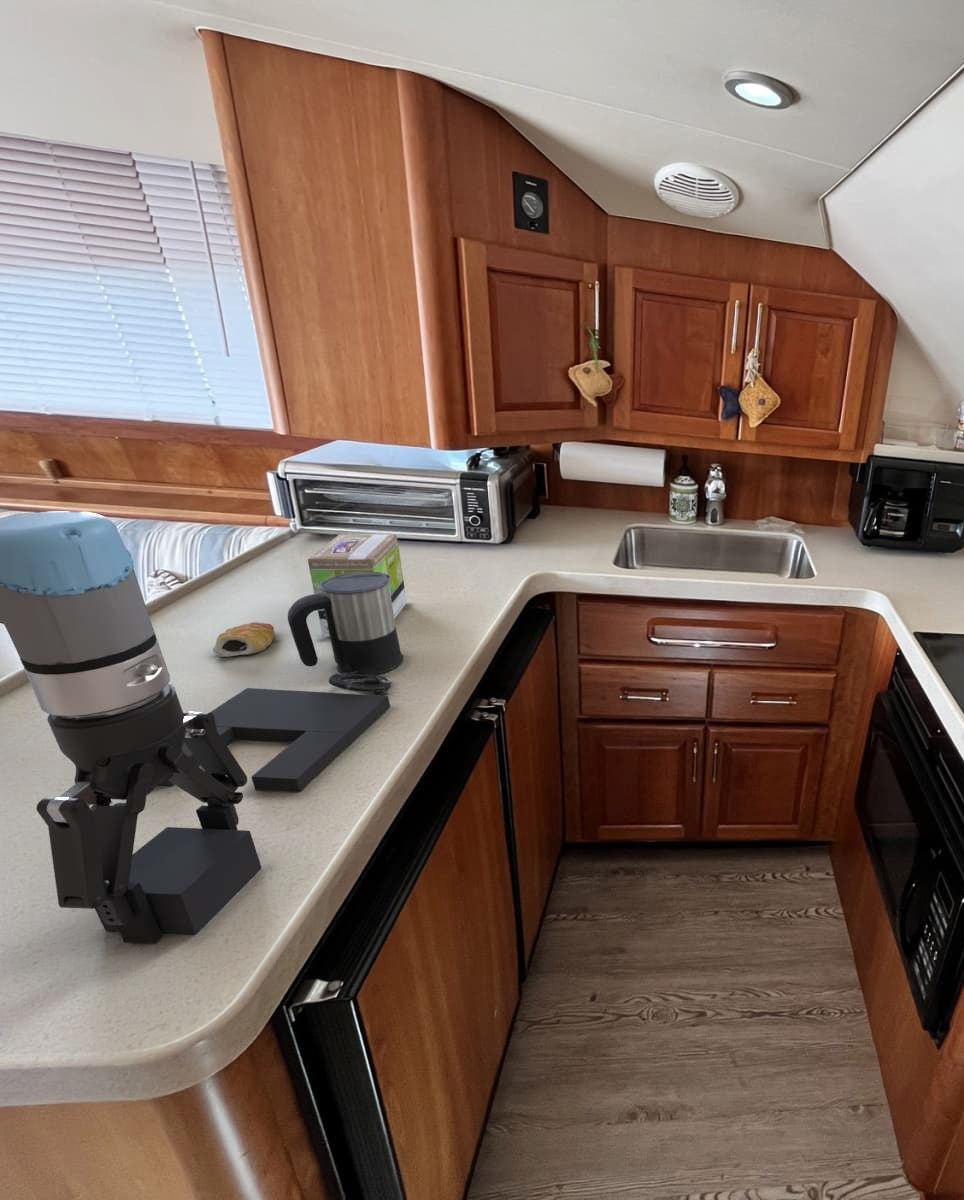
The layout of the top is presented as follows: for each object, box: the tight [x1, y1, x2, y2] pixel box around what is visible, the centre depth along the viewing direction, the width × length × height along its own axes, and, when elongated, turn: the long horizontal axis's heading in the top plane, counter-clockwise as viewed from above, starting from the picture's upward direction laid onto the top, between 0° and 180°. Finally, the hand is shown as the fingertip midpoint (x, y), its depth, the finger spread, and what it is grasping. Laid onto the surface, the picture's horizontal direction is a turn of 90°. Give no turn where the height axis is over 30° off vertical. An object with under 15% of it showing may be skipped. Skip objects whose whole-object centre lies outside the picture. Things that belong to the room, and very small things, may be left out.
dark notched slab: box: [158, 687, 391, 793], centre depth 84 cm, size 20×19×2 cm
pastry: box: [212, 621, 275, 658], centre depth 106 cm, size 9×7×4 cm
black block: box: [94, 826, 263, 935], centre depth 61 cm, size 8×8×5 cm
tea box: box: [307, 534, 407, 637], centre depth 116 cm, size 15×10×15 cm, turn 17°
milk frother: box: [287, 572, 405, 695], centre depth 98 cm, size 14×16×15 cm
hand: (189, 895), depth 62 cm, fingers open, 9 cm apart
